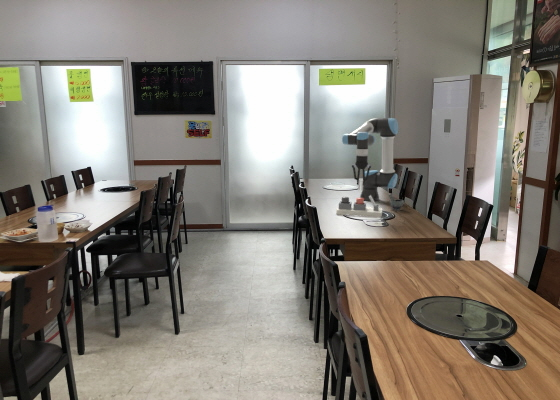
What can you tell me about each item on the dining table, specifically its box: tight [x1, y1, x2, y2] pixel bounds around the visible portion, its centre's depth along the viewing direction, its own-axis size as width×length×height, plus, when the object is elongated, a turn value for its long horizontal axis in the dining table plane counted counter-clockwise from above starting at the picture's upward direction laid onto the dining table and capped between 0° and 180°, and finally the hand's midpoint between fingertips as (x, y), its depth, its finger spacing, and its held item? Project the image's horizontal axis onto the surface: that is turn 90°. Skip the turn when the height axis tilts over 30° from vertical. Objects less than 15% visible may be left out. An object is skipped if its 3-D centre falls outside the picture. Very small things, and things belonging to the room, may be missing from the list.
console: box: [335, 200, 383, 218], centre depth 311 cm, size 16×30×7 cm, turn 76°
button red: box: [355, 197, 365, 204], centre depth 311 cm, size 5×5×5 cm
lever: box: [369, 196, 377, 207], centre depth 308 cm, size 4×1×10 cm, turn 166°
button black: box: [341, 196, 350, 204], centre depth 313 cm, size 5×5×5 cm
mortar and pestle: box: [387, 192, 405, 212], centre depth 323 cm, size 11×9×12 cm
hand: (360, 189), depth 309 cm, fingers closed
